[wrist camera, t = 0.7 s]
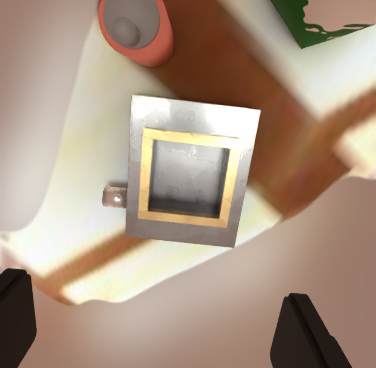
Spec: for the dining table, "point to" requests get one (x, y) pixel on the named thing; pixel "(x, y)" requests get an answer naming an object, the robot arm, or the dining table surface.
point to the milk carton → (325, 18)
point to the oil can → (138, 29)
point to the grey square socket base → (186, 170)
